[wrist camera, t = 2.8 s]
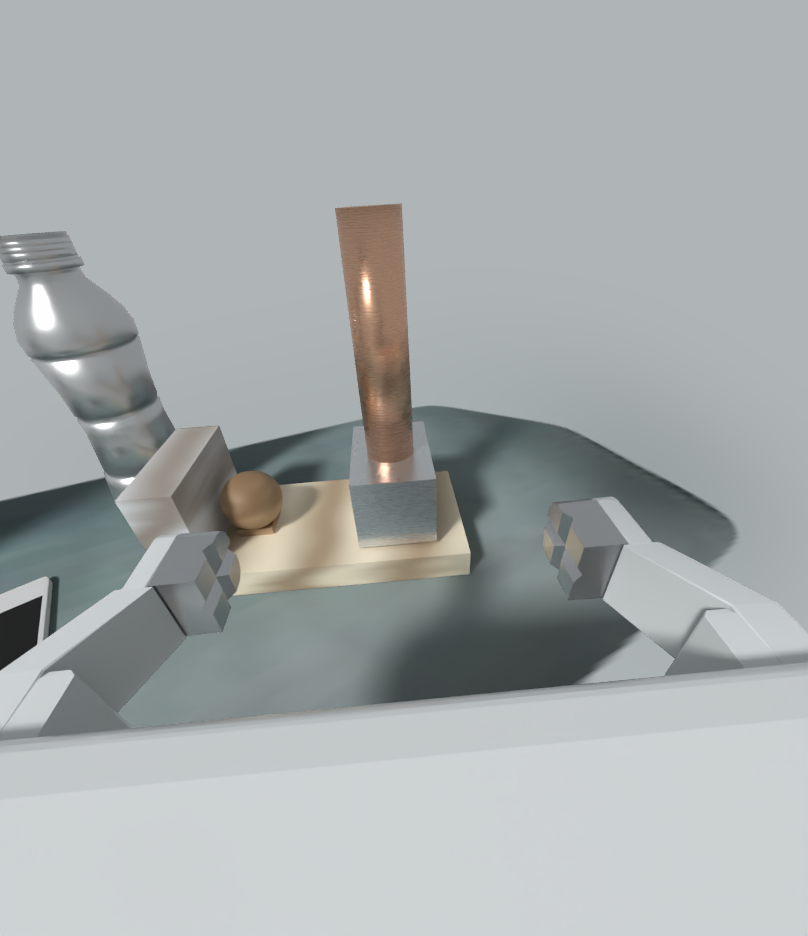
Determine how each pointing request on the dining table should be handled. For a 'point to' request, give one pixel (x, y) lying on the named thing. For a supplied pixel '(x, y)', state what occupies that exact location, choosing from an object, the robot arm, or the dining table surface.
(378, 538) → the copper post with base
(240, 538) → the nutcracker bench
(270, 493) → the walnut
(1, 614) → the smartphone
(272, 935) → the robot arm
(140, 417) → the plastic bottle
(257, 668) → the dining table surface
